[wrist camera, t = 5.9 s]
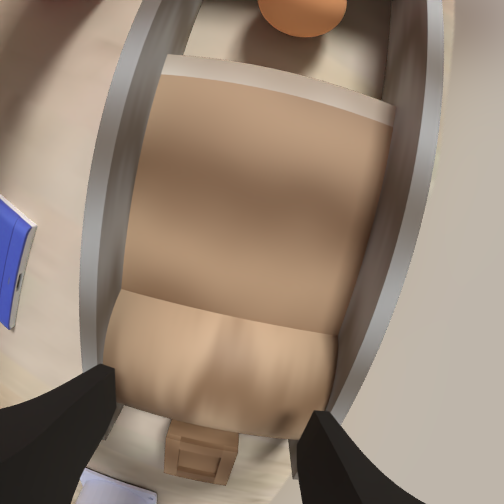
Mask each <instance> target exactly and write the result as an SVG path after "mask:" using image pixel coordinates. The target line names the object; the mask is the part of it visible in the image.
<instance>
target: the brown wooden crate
mask: <svg viewBox="0 0 504 504" xmlns="http://www.w3.org/2000/svg"><path fill="white" fill-rule="evenodd" d="M238 441H239V433H236V432H230V431H224V430H219V429H214V428H209V427H204V426H199V425H195V424H191V423H186V422H182V421H178V420H174V419H172V420H171V423H170V426H169V430H168V433H167V436H166V443H165V460H164V473H167V474H171V475H175V476H179V477H183V478H188V479H192V480H197V481H202V482H207V483H213V484H219V485H225V486H226V484H227V481H228V479H229V476H230V473H231V470H232V468H233V465H234V462H235V459H236V456H237V453H238Z"/></svg>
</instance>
